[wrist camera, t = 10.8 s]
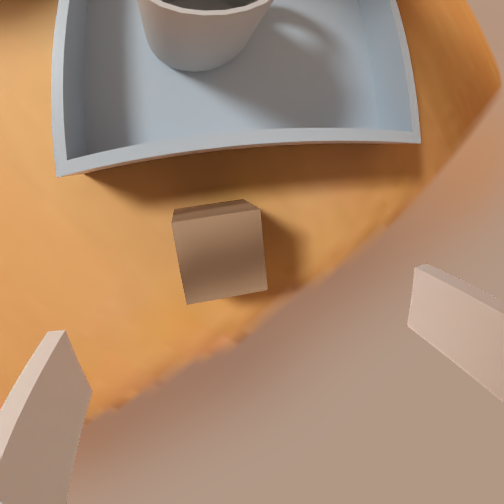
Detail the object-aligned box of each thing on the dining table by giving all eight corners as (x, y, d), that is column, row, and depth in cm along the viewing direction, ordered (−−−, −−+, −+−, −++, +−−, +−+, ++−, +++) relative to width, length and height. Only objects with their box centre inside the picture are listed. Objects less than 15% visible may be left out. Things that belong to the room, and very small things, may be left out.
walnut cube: (174, 209, 21) (171, 222, 16) (243, 199, 22) (260, 209, 17) (185, 275, 22) (186, 304, 18) (250, 264, 23) (267, 289, 18)
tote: (88, -36, 12) (75, -66, 8) (347, -38, 17) (373, -60, 12) (83, 173, 18) (56, 177, 14) (381, 143, 23) (421, 143, 18)
